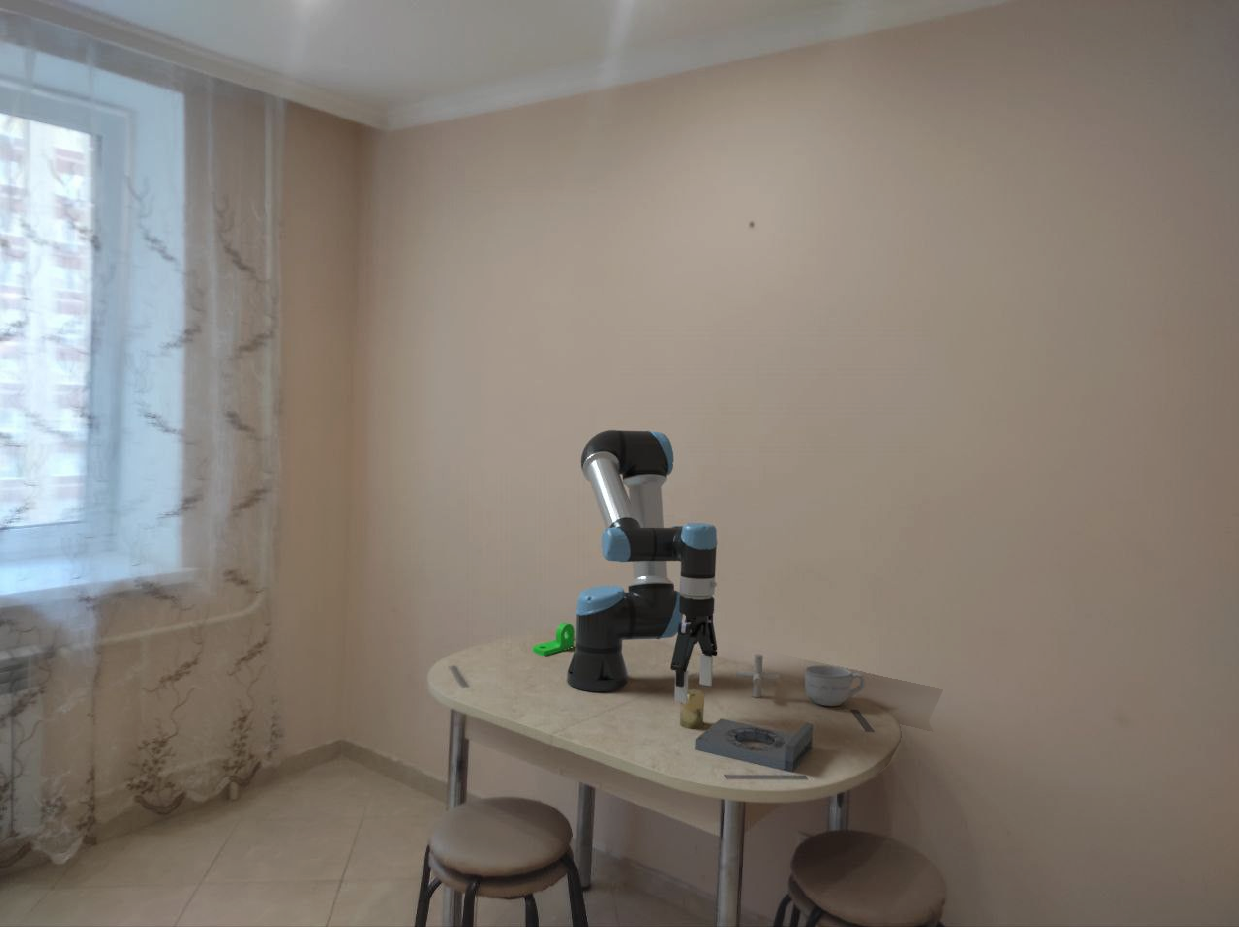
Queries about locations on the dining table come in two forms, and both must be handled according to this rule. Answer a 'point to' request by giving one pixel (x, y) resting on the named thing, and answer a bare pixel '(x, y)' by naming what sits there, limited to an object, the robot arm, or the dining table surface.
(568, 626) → the mechanical part
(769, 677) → the pipe connector
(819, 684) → the teacup
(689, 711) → the gold round-ended peg
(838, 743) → the dining table surface
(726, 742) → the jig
